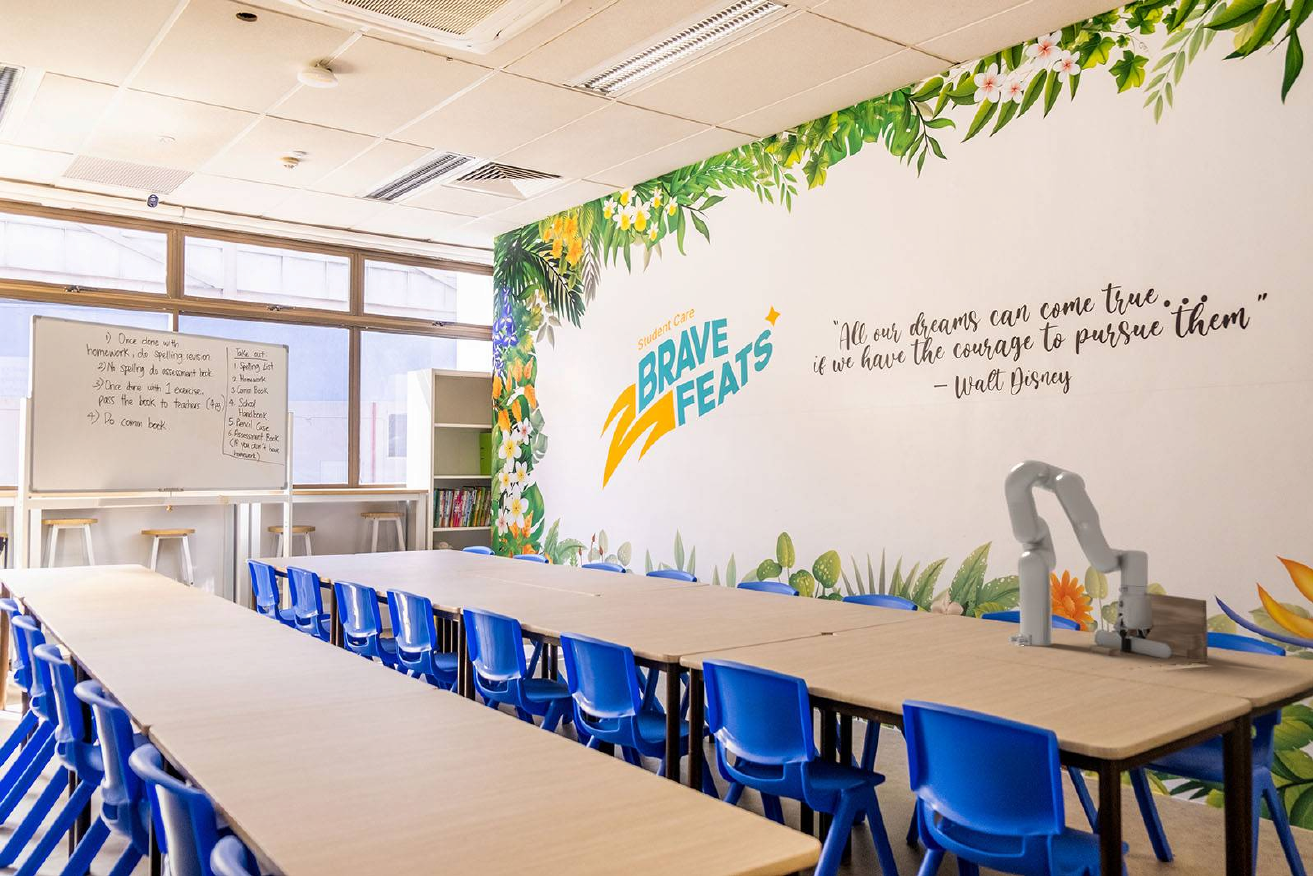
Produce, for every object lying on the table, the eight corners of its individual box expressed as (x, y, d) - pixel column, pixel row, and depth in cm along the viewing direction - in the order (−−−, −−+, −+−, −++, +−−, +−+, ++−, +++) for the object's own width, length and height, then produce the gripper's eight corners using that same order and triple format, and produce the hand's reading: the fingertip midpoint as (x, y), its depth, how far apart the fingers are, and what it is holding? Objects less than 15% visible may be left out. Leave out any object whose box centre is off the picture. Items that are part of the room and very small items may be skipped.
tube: (1176, 646, 297) (1108, 631, 320) (1164, 641, 295) (1096, 627, 318) (1172, 664, 297) (1104, 648, 319) (1160, 659, 295) (1092, 643, 317)
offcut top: (1109, 656, 299) (1108, 649, 299) (1090, 651, 307) (1090, 645, 307) (1120, 655, 300) (1120, 648, 300) (1101, 651, 308) (1101, 644, 308)
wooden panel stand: (1190, 663, 296) (1189, 601, 296) (1118, 647, 322) (1117, 591, 323) (1207, 661, 298) (1206, 600, 299) (1134, 646, 324) (1133, 590, 325)
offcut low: (1112, 664, 297) (1112, 657, 297) (1087, 658, 307) (1087, 651, 307) (1125, 663, 299) (1125, 656, 299) (1100, 657, 308) (1100, 650, 308)
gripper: (1121, 593, 301) (1120, 654, 301) (1165, 592, 307) (1165, 652, 306) (1102, 590, 309) (1102, 649, 308) (1146, 589, 314) (1145, 647, 314)
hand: (1133, 650), depth 307 cm, fingers closed on tube, 5 cm apart
